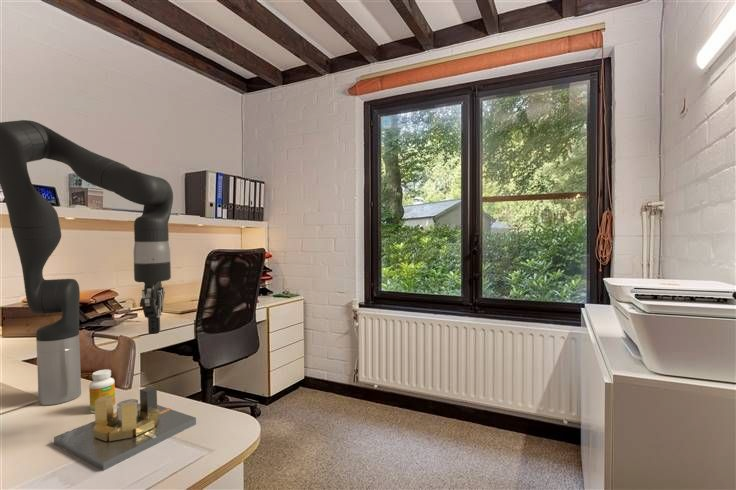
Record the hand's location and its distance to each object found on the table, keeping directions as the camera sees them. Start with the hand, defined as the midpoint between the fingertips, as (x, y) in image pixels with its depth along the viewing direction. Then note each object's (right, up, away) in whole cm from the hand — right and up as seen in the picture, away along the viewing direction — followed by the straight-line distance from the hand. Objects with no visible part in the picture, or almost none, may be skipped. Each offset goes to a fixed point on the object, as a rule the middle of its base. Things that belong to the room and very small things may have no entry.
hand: (154, 333), depth 90 cm
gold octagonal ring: (-4, -20, -4) cm, 21 cm away
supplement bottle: (-18, -22, +8) cm, 30 cm away
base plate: (-3, -22, -4) cm, 22 cm away
